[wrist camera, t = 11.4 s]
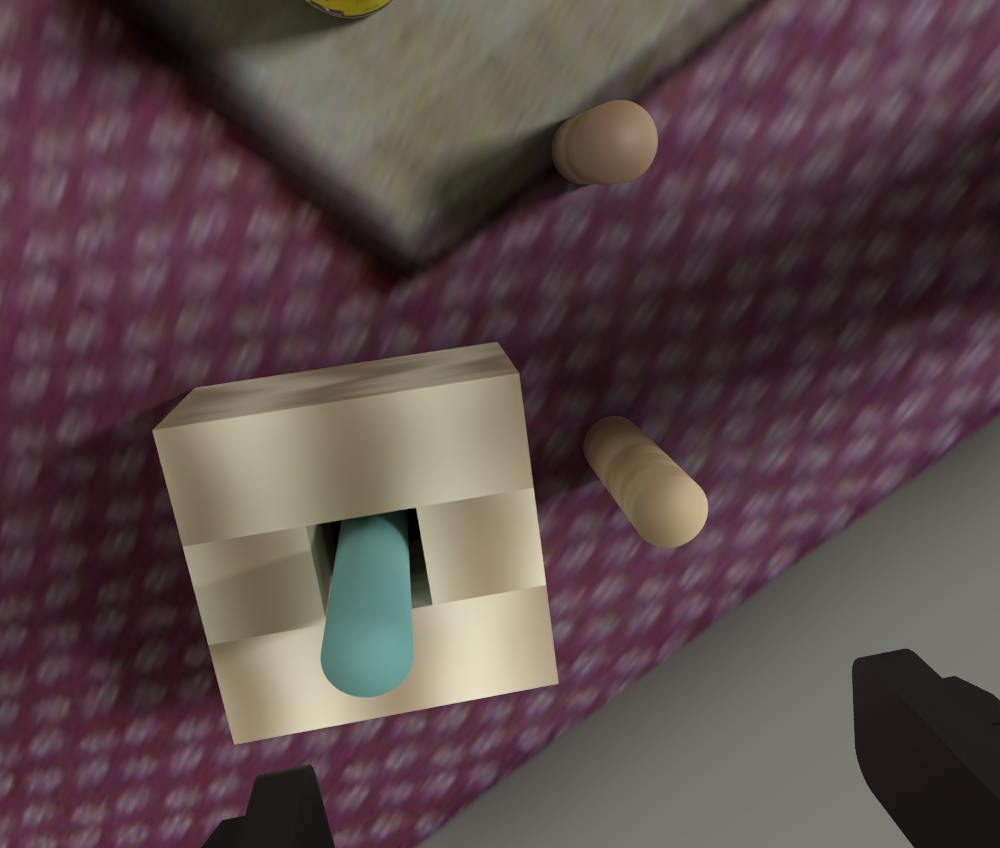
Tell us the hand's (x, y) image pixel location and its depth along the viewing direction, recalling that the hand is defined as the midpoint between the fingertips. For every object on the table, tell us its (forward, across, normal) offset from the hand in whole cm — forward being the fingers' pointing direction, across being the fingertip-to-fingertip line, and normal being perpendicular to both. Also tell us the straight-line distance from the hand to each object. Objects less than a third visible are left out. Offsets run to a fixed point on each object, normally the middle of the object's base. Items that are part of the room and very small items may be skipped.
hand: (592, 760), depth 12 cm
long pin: (+28, +6, +6) cm, 29 cm away
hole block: (+28, +6, +6) cm, 29 cm away
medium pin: (+28, -6, +5) cm, 30 cm away
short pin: (+28, -7, -9) cm, 31 cm away
